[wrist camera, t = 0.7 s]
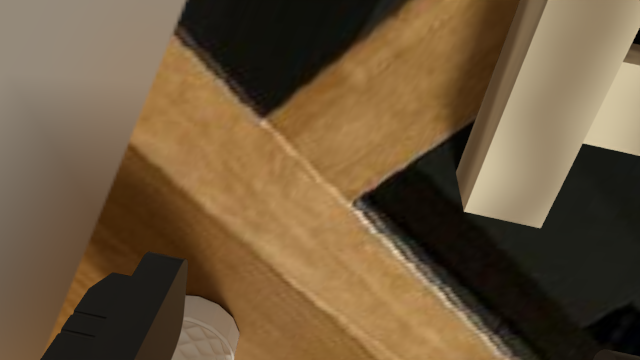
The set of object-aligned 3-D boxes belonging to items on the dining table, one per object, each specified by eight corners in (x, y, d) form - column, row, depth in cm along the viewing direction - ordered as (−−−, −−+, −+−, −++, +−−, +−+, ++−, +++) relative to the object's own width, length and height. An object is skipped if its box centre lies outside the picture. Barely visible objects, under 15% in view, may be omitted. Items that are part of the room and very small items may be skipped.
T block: (455, 172, 32) (464, 211, 29) (555, -95, 25) (581, -85, 21) (660, 217, 32) (693, 261, 29) (819, -36, 25) (887, -17, 22)
